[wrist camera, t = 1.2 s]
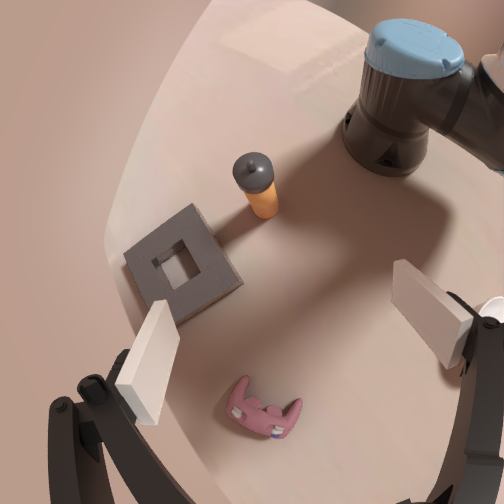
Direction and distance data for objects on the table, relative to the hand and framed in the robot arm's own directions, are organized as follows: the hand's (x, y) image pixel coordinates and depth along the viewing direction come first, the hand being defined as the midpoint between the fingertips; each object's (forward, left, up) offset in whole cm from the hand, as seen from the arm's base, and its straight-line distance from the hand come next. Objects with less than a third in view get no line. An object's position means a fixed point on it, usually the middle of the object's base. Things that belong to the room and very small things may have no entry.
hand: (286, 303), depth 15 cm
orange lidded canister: (-5, -15, -25) cm, 30 cm away
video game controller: (+11, +9, -25) cm, 29 cm away
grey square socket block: (+11, -14, -25) cm, 31 cm away
